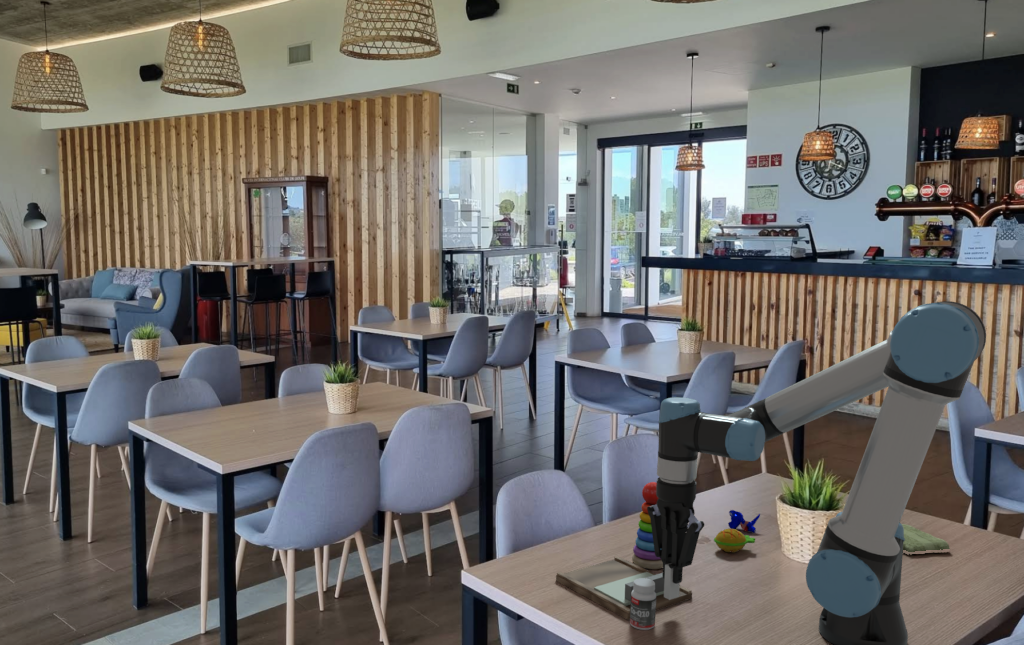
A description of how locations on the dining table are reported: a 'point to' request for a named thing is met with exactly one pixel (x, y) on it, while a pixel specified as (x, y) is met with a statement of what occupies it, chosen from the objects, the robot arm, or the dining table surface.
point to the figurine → (741, 522)
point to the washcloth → (921, 540)
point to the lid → (629, 587)
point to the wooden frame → (611, 572)
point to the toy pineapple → (732, 540)
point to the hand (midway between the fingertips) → (671, 596)
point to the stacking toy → (646, 533)
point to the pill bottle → (643, 604)
